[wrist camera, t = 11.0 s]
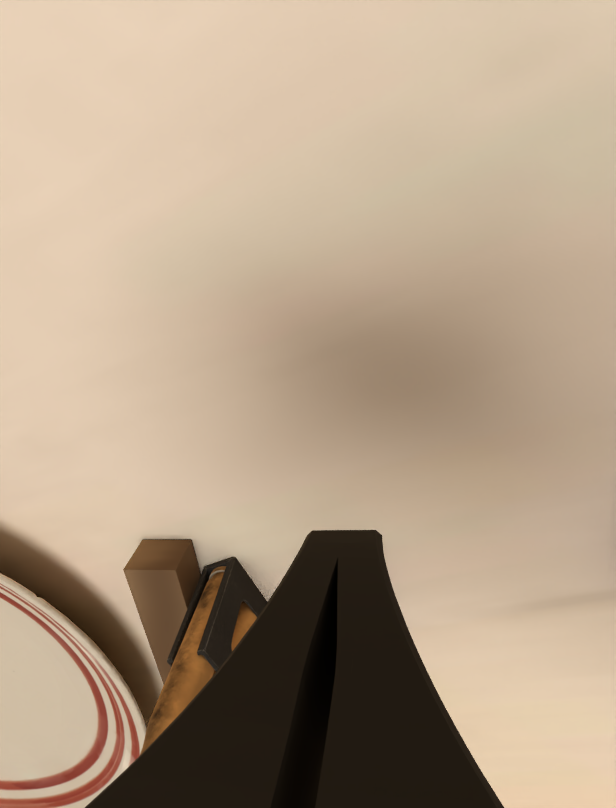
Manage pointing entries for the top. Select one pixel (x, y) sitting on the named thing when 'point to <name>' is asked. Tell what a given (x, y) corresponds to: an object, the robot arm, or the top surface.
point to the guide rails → (162, 591)
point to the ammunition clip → (205, 638)
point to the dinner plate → (58, 708)
